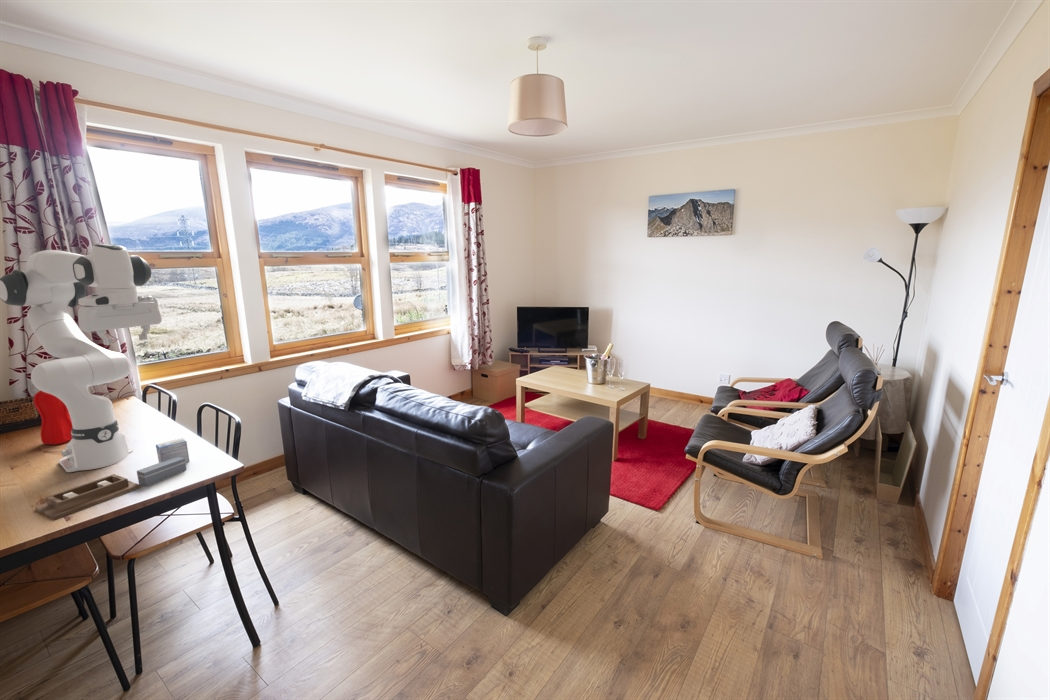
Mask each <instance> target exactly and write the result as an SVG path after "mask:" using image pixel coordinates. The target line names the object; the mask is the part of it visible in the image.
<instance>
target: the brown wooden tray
mask: <svg viewBox="0 0 1050 700" xmlns="http://www.w3.org/2000/svg"><path fill="white" fill-rule="evenodd" d="M140 488H141V485H139V483H136V482H133V481H131V480H128V478H126V477H124V476H121V475H118V474H115V473H114V474H110V475H107V476H104V477H102V478H98V479H95V480H92V481H90V482H87V483H84V484H81V485H78V486H74V487H73V488H70V489H67V490H66V489H65V490H63V491H60V492H57V493H54V494H51V495H49V496H45V500H46V502H45V503H43V504H39V505H37V506H34V508H35V511H37V512H39V513H41V514H43V515H45V516H47V517H49V518H51V519H53V520H57V519H61V518H63V517H66V516H69V515H70V514H71V515H72V514H73V513H76V512H79V511H83V510H84V509H88V508H90V507H93V506H96V505H98V504H100V503H103V502H105V501H109V500H111V499H115V498H117V497H120V496H122V495H125V494H127V493H130V492H132V491H135V490H138V489H140Z"/></svg>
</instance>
